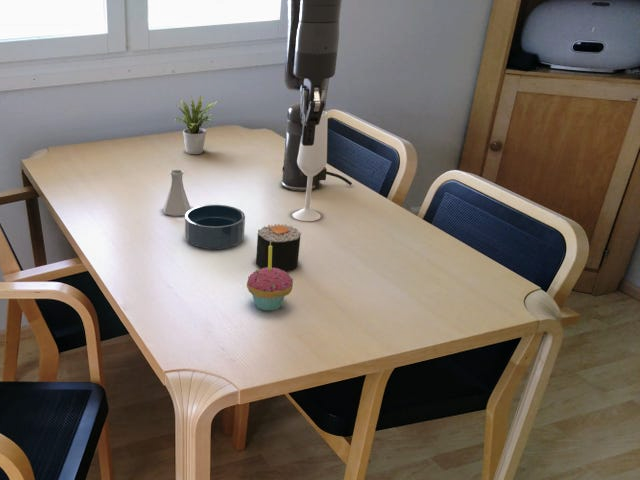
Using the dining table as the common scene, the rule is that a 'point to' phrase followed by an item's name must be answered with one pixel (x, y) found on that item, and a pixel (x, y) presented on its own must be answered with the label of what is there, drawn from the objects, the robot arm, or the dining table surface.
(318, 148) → the champagne flute
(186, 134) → the house plant
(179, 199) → the flask
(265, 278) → the cupcake
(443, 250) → the dining table surface
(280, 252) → the sushi
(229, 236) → the bowl
